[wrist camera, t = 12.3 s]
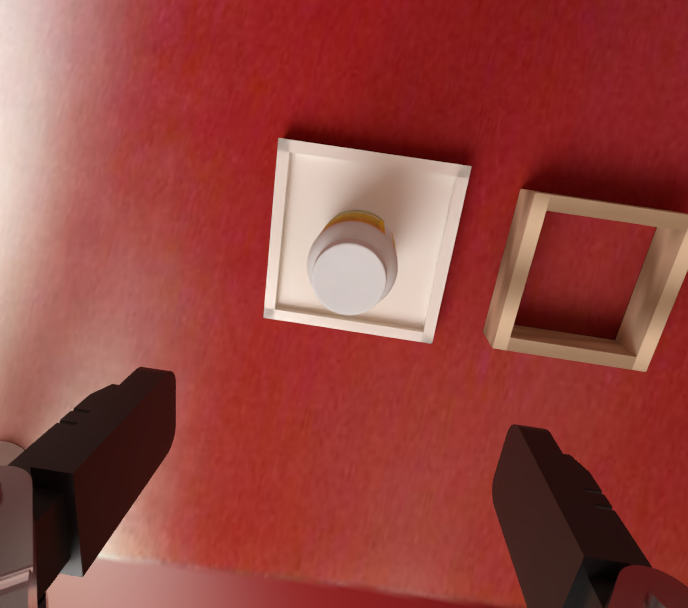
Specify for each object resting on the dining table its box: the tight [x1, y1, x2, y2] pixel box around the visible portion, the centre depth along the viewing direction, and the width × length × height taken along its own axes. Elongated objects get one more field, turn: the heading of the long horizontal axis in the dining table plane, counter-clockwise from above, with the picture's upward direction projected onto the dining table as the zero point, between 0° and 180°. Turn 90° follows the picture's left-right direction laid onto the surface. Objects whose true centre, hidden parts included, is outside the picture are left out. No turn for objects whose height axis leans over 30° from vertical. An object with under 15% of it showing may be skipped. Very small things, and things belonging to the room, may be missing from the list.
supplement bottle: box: [307, 209, 398, 315], centre depth 28 cm, size 5×5×10 cm
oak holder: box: [483, 189, 688, 372], centre depth 31 cm, size 11×11×3 cm
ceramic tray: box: [264, 138, 472, 344], centre depth 32 cm, size 13×13×2 cm
